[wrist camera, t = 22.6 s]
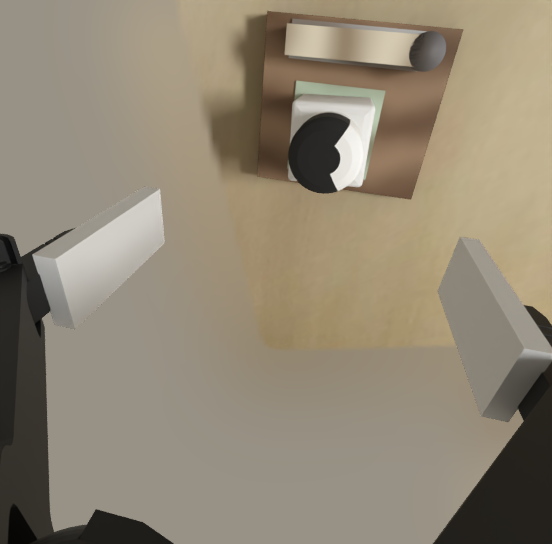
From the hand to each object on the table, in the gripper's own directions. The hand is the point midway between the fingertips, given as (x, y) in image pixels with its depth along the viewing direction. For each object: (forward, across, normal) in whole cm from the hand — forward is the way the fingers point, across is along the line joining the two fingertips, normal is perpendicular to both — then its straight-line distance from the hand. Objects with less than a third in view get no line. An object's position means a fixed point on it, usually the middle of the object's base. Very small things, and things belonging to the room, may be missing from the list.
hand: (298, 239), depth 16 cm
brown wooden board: (+29, -1, -2) cm, 29 cm away
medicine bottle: (+27, 0, 0) cm, 27 cm away
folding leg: (+26, -1, -8) cm, 28 cm away
